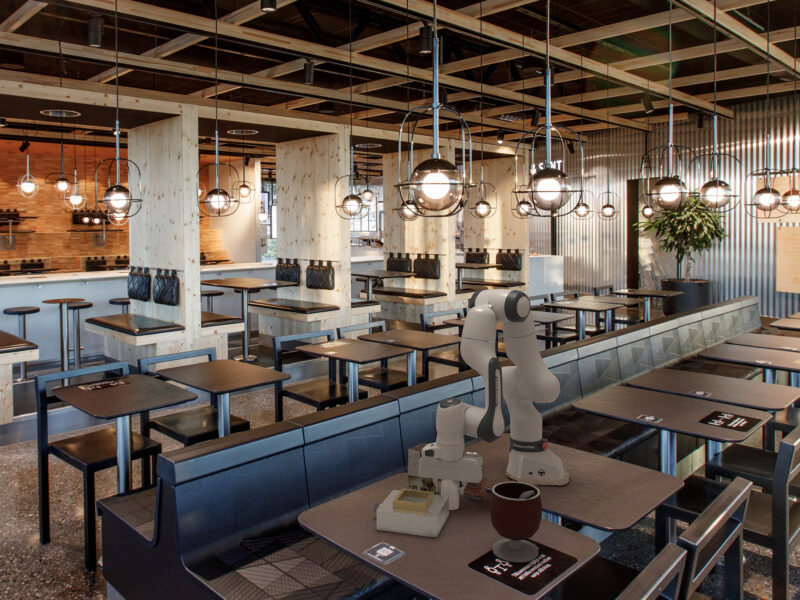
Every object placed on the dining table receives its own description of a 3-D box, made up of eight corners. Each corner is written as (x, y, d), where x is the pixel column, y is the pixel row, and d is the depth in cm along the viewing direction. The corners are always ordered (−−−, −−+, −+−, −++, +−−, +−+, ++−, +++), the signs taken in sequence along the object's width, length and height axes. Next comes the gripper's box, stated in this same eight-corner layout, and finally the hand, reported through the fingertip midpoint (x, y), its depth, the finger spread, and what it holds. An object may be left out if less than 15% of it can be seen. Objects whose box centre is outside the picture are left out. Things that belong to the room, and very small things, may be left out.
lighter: (461, 496, 212) (461, 467, 211) (465, 493, 215) (465, 464, 214) (484, 501, 208) (484, 471, 207) (487, 497, 211) (488, 468, 210)
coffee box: (423, 500, 209) (423, 452, 208) (407, 495, 213) (407, 448, 212) (438, 491, 216) (438, 445, 215) (423, 487, 220) (423, 441, 219)
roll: (455, 466, 206) (462, 472, 201) (455, 502, 207) (462, 509, 202) (438, 468, 205) (444, 474, 199) (438, 504, 206) (444, 511, 200)
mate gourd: (480, 544, 179) (480, 474, 177) (523, 535, 184) (524, 468, 182) (508, 570, 164) (509, 495, 162) (555, 561, 169) (556, 487, 167)
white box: (448, 514, 198) (448, 489, 197) (436, 537, 183) (436, 510, 182) (384, 507, 204) (384, 482, 203) (367, 528, 189) (366, 502, 188)
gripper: (484, 450, 202) (484, 492, 203) (421, 444, 208) (422, 485, 210) (481, 456, 196) (480, 500, 197) (416, 450, 202) (416, 493, 204)
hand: (450, 492), depth 204 cm, fingers closed on roll, 6 cm apart
